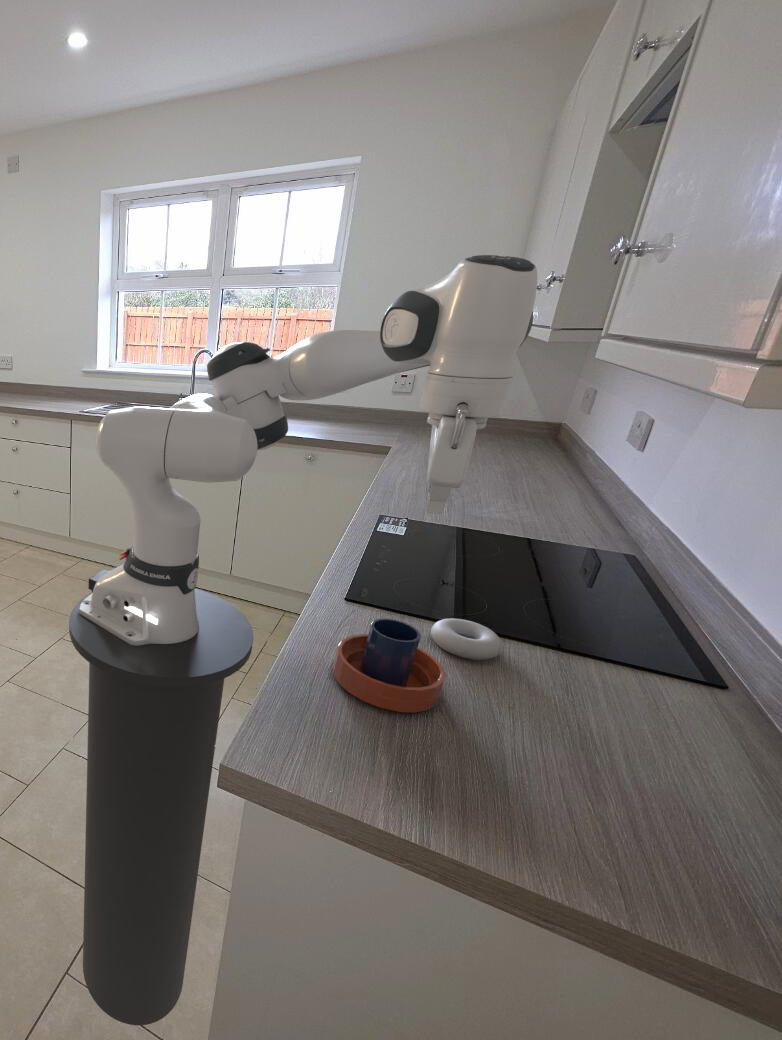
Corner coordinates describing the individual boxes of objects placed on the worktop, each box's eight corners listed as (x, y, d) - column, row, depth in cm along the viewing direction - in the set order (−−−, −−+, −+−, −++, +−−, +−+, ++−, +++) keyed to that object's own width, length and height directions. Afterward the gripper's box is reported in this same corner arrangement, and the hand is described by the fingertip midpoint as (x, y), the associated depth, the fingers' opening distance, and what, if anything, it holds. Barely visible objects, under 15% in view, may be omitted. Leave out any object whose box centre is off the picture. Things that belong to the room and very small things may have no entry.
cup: (354, 682, 86) (367, 631, 82) (364, 662, 90) (376, 614, 87) (401, 699, 82) (416, 647, 79) (409, 677, 87) (423, 627, 83)
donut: (487, 637, 99) (422, 626, 102) (493, 620, 97) (428, 610, 100) (507, 670, 90) (436, 656, 93) (514, 652, 89) (442, 639, 92)
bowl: (320, 688, 85) (325, 663, 84) (346, 647, 96) (352, 624, 94) (427, 730, 77) (436, 703, 75) (444, 680, 87) (452, 656, 85)
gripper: (499, 413, 61) (464, 530, 67) (488, 390, 77) (460, 486, 83) (431, 408, 64) (403, 520, 70) (434, 386, 80) (411, 480, 86)
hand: (434, 501), depth 76 cm, fingers open, 8 cm apart
